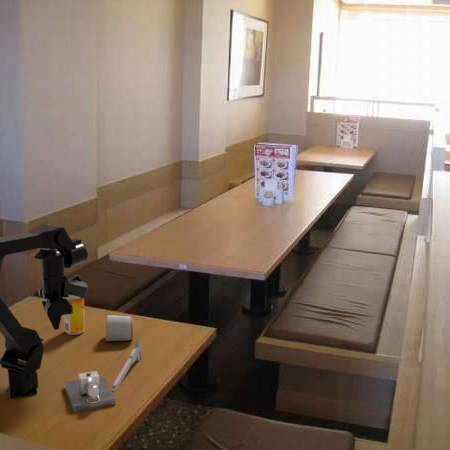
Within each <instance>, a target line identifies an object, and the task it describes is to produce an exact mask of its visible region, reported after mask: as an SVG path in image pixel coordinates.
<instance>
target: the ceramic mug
mask: <svg viewBox="0 0 450 450" xmlns="http://www.w3.org/2000/svg"><path fill="white" fill-rule="evenodd" d="M105 323H106V324H105V341H106V342H119V341H120V342H121V341H123V342H124V341H131V340H133V339H134V317H133V316H130V315H129V316H128V315H111V314H110V315H109V314H108V315H107V314H106V322H105Z"/></svg>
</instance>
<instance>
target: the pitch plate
mask: <svg viewBox="0 0 450 450" xmlns="http://www.w3.org/2000/svg"><path fill="white" fill-rule="evenodd" d="M63 384H64V385H63V386H64V390H66V391H65V393H66V396H67V398H69V399H68V401H69V404H70V407H71V408H72V411H73V413H78V412H81V411H82V412H83V411H87V410H93V409H99V408H103V407H104V408H105V407H109V406H113V405H114V406H115V405H116V397H115V395H114V394H113V393H114V392H113V391H111V389H112V388H110V386H109V384H108V382H107V380H106V378H105V376H104V375H99V385H100V391H99V389H98V385H97V384H90V385H88V386H87V392H88V393H86V394H81V391H80V389H79V379H76V380H70V381H64V382H63Z"/></svg>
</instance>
